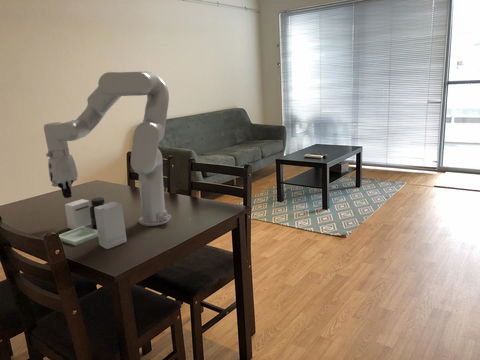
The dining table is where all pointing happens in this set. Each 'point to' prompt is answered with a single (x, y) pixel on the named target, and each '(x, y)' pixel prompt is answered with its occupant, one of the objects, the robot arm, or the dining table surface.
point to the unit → (78, 214)
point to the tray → (78, 235)
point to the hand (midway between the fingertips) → (67, 197)
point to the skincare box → (110, 224)
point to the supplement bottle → (95, 203)
